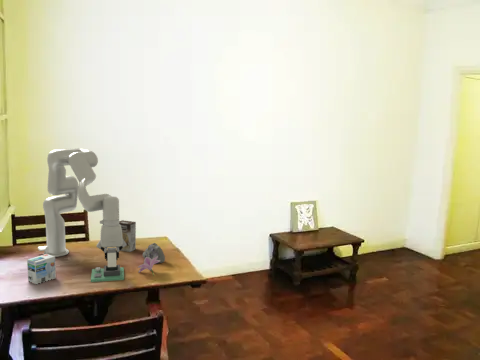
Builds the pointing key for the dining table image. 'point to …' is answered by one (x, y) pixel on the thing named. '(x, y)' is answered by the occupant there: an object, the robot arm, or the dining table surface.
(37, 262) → the light bulb box
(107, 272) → the board
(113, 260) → the plug
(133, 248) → the coffee box
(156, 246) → the mineral rock
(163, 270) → the dining table surface
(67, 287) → the dining table surface
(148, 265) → the lily
